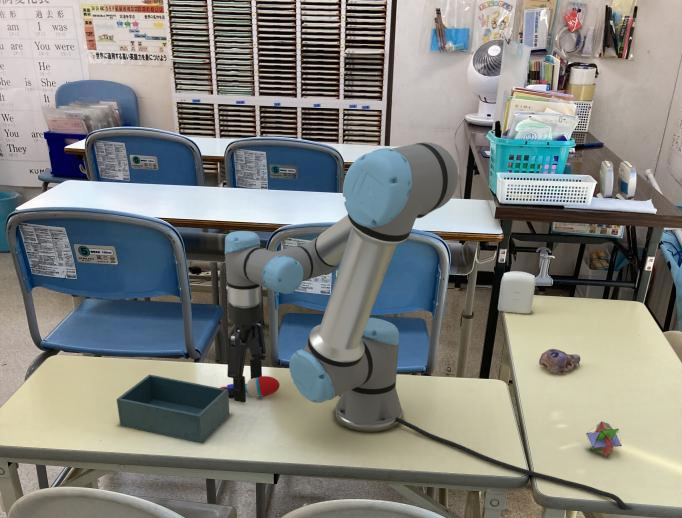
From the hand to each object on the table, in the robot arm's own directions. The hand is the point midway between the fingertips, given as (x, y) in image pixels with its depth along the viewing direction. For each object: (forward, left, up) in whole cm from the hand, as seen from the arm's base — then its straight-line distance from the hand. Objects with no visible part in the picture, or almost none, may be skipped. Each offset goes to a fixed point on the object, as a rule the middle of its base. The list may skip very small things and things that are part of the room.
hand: (248, 392), depth 184 cm
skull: (-69, -45, -1) cm, 83 cm away
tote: (+10, +17, -1) cm, 20 cm away
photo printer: (-51, -82, -1) cm, 97 cm away
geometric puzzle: (-82, -5, -1) cm, 82 cm away
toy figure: (0, 0, -1) cm, 1 cm away
